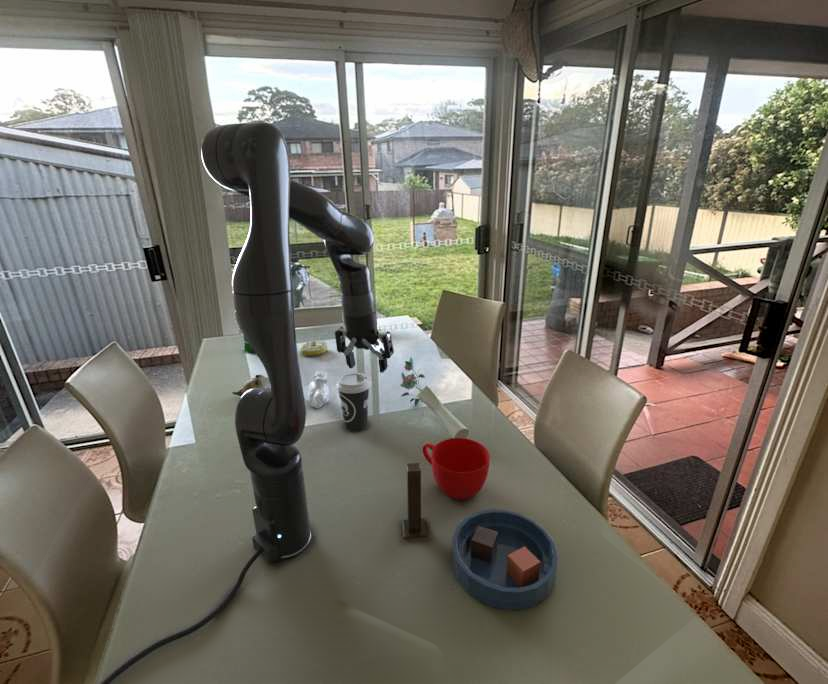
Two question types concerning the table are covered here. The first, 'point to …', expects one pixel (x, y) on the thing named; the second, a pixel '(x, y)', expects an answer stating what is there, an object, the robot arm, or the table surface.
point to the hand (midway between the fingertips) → (367, 368)
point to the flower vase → (433, 404)
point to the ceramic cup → (458, 466)
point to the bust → (318, 390)
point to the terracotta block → (523, 567)
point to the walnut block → (484, 544)
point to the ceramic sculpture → (254, 384)
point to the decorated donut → (313, 348)
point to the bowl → (503, 560)
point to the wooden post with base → (414, 503)
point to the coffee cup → (354, 400)
